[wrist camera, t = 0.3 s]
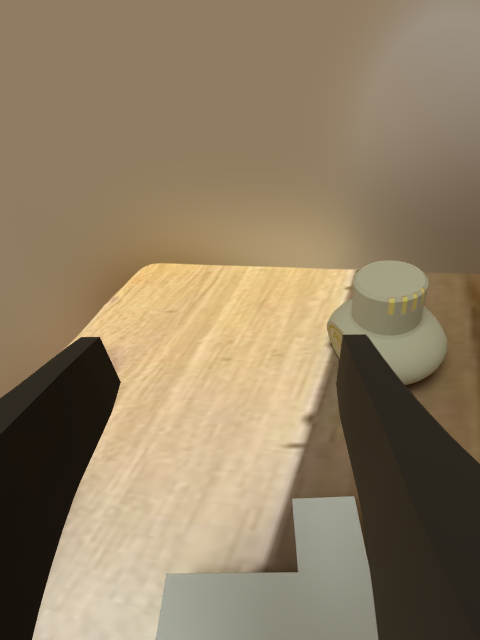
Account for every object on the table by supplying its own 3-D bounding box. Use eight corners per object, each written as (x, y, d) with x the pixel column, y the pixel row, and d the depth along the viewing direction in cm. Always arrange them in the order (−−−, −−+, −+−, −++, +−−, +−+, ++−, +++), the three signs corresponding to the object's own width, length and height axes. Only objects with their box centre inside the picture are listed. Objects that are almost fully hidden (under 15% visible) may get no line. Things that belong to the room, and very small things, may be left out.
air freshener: (454, 384, 31) (485, 299, 25) (370, 412, 30) (380, 333, 24) (386, 314, 39) (397, 237, 33) (320, 335, 39) (317, 260, 32)
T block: (409, 807, 15) (424, 827, 13) (161, 786, 17) (130, 800, 15) (352, 518, 24) (354, 496, 22) (193, 523, 26) (177, 503, 24)
